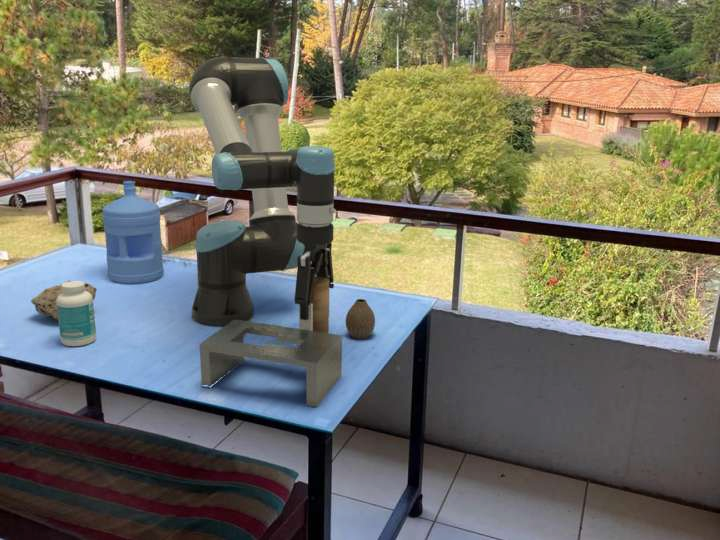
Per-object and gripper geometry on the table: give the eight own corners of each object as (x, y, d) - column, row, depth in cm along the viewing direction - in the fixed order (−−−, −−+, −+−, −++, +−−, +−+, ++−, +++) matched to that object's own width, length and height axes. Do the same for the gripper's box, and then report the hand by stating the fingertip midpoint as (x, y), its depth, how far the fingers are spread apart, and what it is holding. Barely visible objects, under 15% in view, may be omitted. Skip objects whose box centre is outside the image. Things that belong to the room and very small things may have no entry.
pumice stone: (80, 303, 173) (77, 273, 171) (107, 313, 166) (105, 283, 164) (28, 318, 162) (24, 287, 160) (55, 329, 156) (51, 297, 153)
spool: (296, 357, 144) (296, 283, 139) (306, 347, 149) (307, 275, 145) (322, 362, 142) (323, 286, 137) (332, 351, 148) (333, 278, 143)
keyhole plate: (201, 386, 130) (199, 344, 127) (235, 358, 143) (234, 319, 140) (316, 407, 123) (316, 363, 121) (341, 376, 136) (342, 335, 133)
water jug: (123, 267, 204) (116, 176, 196) (172, 270, 202) (167, 178, 194) (97, 282, 189) (88, 184, 181) (150, 286, 187) (143, 187, 179)
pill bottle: (100, 343, 149) (95, 285, 145) (65, 350, 145) (58, 291, 141) (91, 332, 155) (86, 276, 151) (57, 339, 150) (51, 282, 146)
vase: (364, 343, 152) (365, 307, 150) (339, 336, 156) (340, 301, 153) (380, 334, 158) (381, 299, 155) (355, 327, 162) (356, 293, 159)
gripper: (312, 236, 126) (312, 345, 133) (349, 214, 146) (347, 310, 153) (276, 232, 128) (277, 340, 135) (317, 211, 148) (316, 305, 155)
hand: (314, 324), depth 144 cm, fingers open, 9 cm apart
